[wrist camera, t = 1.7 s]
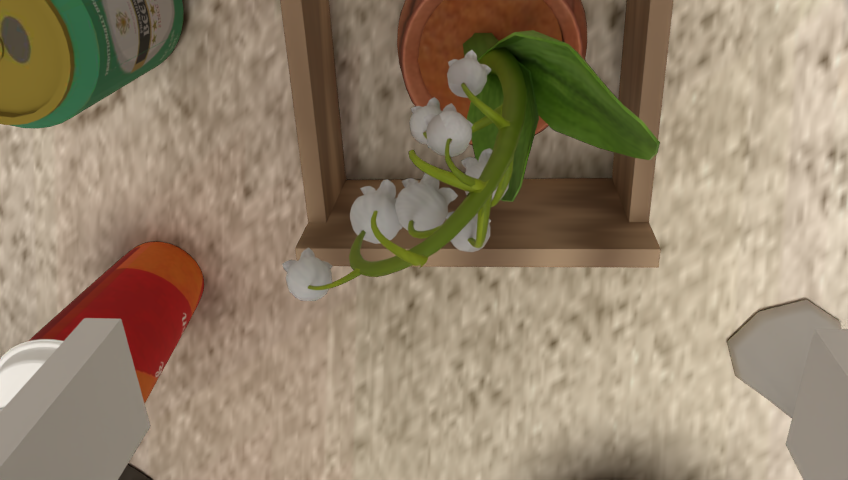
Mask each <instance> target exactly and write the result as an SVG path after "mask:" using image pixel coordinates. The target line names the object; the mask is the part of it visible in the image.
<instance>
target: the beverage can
mask: <svg viewBox="0 0 848 480" xmlns="http://www.w3.org/2000/svg"><path fill="white" fill-rule="evenodd" d="M182 26H183V3H182V0H0V124H4V125H11V126H16V127H22V128H44V127H51V126H54V125H57V124H60V123H63V122H64V121H66V120H68V119H70V118H72V117H74V116H75V115H77V114H78V113H80V112H82V111H83V110H85V109H87V108H88V107H90V106H92V105H93V104H95V103H97V102H98V101H100V100H102V99H103V98H105V97H107V96H108V95H110V94H112V93H113V92H115V91H117V90H118V89H120V88H121V87H123V86H125V85H126V84H128V83H130V82H131V81H133V80H135V79H136V78H138V77H140V76H141V75H143V74H145V73H146V72H148V71H150V70H151V69H153V68H155V67H156V66H158V65H159V64H161V63H162V62H163V61H164V60H165V59H167V57H168V56H169V55H170V54H171V53H172V51H173V50H174V48H175V46H176V45H177V43H178V40H179V37H180V35H181V32H182Z"/></svg>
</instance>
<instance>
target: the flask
mask: <svg viewBox="0 0 848 480" xmlns="http://www.w3.org/2000/svg"><path fill="white" fill-rule="evenodd" d="M814 329H841V323H840V321H838V320H837V319H835V318H834V317H832V316H831V315H829V314H828V313H826V312H825V311H823V310H822V309H820V308H819V307H817V306H816V305H814V304H813V303H811V302H809V301H808V300H803V301H799V302H795V303H791V304H787V305H783V306H779V307H775V308H771V309H767V310H763V311H759V312H758V313H757V314H756V315H755V316H754V317H753V318H752V319H751V320H749V321H748V322H747V323H746V324H745V325H744V326H743V327H742V328H741V329H740V330H739V331H738V332H737V333H736V334H735V335H734V336H733V337H732V338H730V339H729V340H728V341H727V343H728V347H729V352H730V356H731V360H732V364H733V368H734V372H735V376H737V377H738V378H739V379H740V380H742V381H743V382H744V383H746V384H747V385H748V386H750V387H751V388H753V389H754V390H755V391H757V392H758V393H760V394H761V395H762V396H764V397H765V398H767V399H768V400H769V401H770V402H772V403H773V404H774V405H776V406H777V407H778V408H779V409H781V410H782V411H783V412H784V413H786V414H787V415H788V416H789V417H791V418H792V417H793V413H794V409H795V405H796V401H797V397H798V393H799V389H800V385H801V381H802V377H803V373H804V369H805V365H806V361H807V357H808V353H809V349H810V345H811V341H812V337H813V333H814Z"/></svg>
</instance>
